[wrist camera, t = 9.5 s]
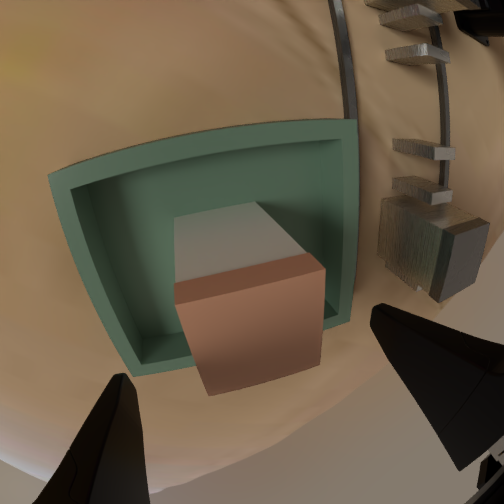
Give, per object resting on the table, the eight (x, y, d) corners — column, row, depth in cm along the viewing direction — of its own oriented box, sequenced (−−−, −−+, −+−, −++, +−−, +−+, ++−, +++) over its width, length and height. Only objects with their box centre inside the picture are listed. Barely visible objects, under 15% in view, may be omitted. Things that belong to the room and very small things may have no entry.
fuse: (255, 200, 15) (325, 268, 8) (263, 271, 18) (319, 364, 11) (173, 217, 15) (174, 304, 8) (190, 288, 17) (208, 396, 10)
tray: (327, 118, 15) (356, 119, 12) (330, 298, 21) (349, 321, 18) (69, 165, 12) (47, 175, 10) (135, 346, 18) (133, 377, 16)
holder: (418, -25, 10) (477, -38, 4) (433, 250, 22) (487, 286, 16) (311, -62, 8) (365, -107, 2) (344, 280, 20) (400, 337, 14)
